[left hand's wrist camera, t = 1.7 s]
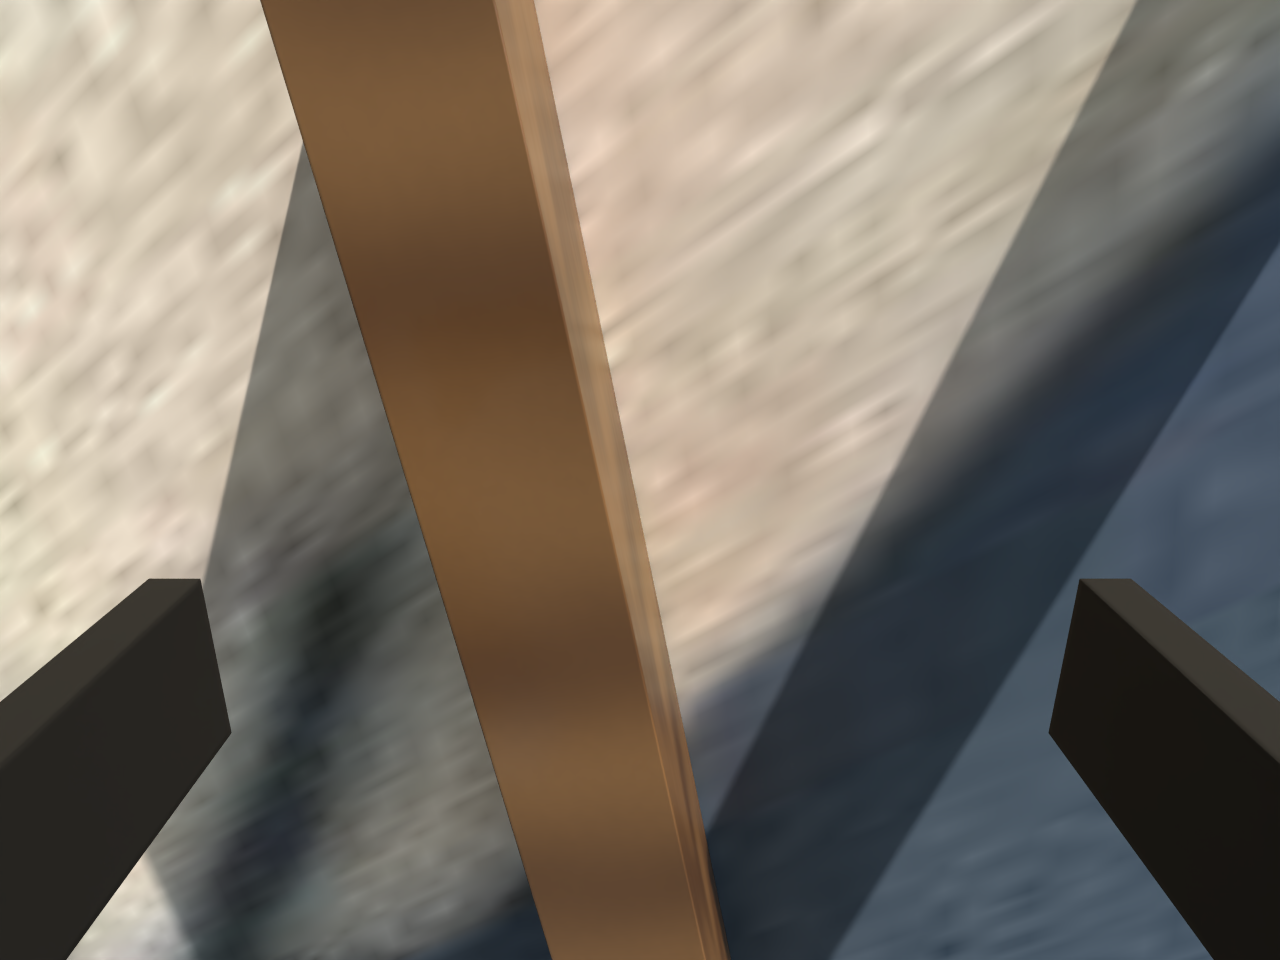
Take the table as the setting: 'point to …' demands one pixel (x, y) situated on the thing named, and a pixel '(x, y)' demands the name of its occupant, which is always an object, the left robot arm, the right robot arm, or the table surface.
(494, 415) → the beam
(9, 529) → the table surface
